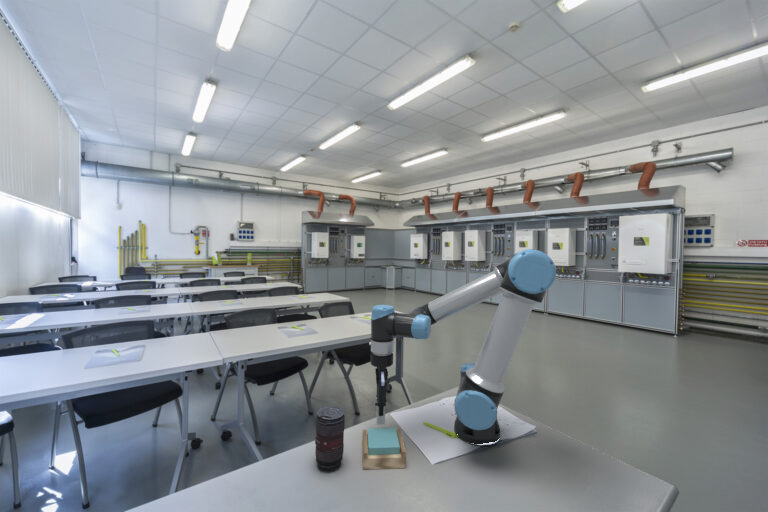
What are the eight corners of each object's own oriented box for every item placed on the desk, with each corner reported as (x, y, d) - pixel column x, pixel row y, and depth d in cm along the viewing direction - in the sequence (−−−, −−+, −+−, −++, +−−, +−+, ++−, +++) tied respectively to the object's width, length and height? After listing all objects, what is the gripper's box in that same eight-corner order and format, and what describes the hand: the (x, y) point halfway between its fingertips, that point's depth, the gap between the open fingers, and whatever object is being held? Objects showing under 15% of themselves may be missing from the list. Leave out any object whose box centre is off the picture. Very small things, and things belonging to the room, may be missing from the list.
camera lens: (338, 476, 85) (339, 421, 85) (310, 471, 87) (311, 417, 87) (347, 457, 93) (348, 407, 93) (321, 453, 95) (322, 403, 95)
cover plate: (395, 434, 100) (395, 428, 100) (399, 454, 90) (400, 447, 90) (367, 435, 100) (367, 428, 99) (368, 455, 90) (368, 448, 90)
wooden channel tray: (399, 442, 101) (400, 428, 101) (405, 467, 89) (405, 452, 89) (362, 443, 100) (362, 429, 100) (363, 469, 88) (363, 453, 88)
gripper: (369, 346, 110) (368, 413, 111) (371, 358, 97) (369, 434, 98) (391, 346, 111) (389, 413, 111) (395, 358, 98) (394, 434, 98)
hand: (380, 423), depth 104 cm, fingers closed
